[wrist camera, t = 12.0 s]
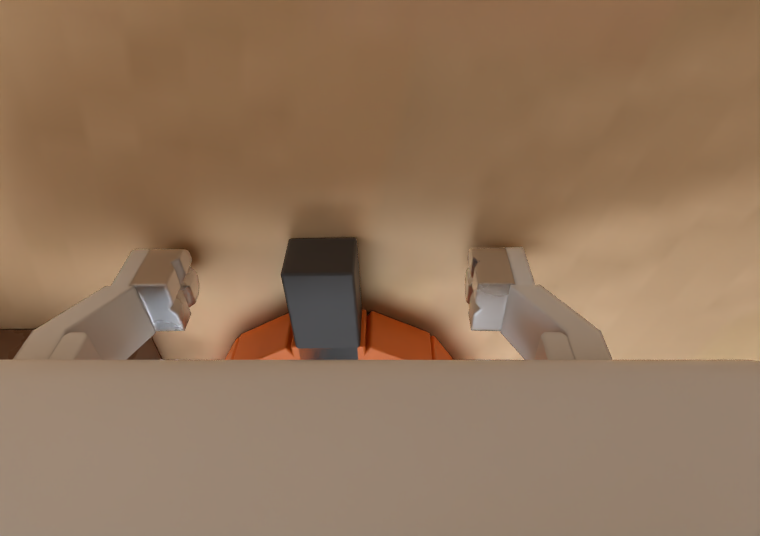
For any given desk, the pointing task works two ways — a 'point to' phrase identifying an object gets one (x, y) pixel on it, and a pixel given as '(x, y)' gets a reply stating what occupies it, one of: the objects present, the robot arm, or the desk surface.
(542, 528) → the robot arm
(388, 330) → the orange ring
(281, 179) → the desk surface
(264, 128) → the desk surface
